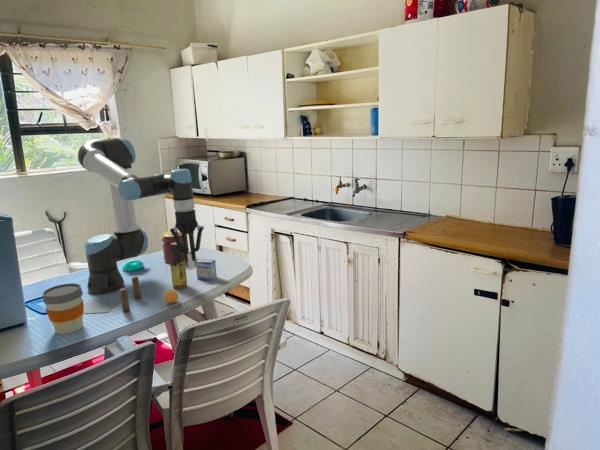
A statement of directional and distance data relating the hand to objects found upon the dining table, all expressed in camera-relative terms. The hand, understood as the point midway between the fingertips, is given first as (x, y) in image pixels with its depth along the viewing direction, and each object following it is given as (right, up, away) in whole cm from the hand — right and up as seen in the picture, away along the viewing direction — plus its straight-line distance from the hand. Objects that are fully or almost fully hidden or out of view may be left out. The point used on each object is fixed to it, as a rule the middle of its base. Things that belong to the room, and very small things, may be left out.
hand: (191, 268), depth 176 cm
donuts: (-41, -5, +48) cm, 63 cm away
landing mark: (-39, -16, +4) cm, 42 cm away
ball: (-9, -11, +3) cm, 15 cm away
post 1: (-25, -16, -2) cm, 30 cm away
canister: (-22, -1, +58) cm, 62 cm away
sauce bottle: (-10, -10, +20) cm, 25 cm away
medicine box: (0, -8, +29) cm, 30 cm away
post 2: (-25, -13, +10) cm, 30 cm away
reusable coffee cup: (-41, -21, -14) cm, 48 cm away
